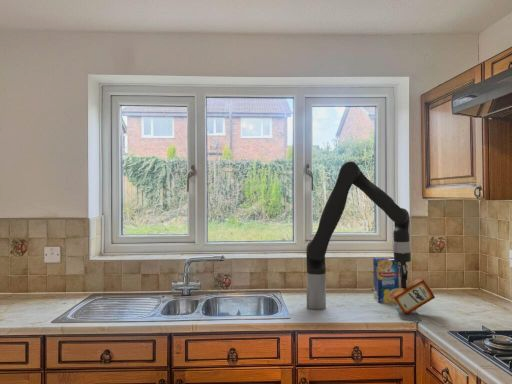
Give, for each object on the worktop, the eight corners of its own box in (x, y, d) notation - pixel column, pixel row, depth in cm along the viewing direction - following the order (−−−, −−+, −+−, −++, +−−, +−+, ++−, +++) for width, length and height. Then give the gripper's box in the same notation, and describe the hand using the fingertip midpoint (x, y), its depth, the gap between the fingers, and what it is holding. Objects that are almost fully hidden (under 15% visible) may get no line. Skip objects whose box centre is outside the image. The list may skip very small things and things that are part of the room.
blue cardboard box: (399, 302, 212) (398, 259, 212) (378, 303, 211) (378, 260, 211) (393, 298, 219) (393, 257, 219) (373, 299, 218) (373, 258, 218)
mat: (401, 320, 183) (401, 319, 183) (396, 308, 200) (396, 307, 200) (422, 321, 181) (422, 320, 181) (414, 309, 199) (414, 308, 199)
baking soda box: (393, 297, 189) (424, 279, 187) (390, 294, 195) (420, 276, 194) (405, 315, 188) (435, 297, 187) (402, 311, 195) (431, 293, 193)
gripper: (391, 249, 199) (393, 284, 199) (395, 253, 186) (397, 291, 186) (408, 248, 197) (409, 284, 197) (412, 253, 184) (414, 291, 184)
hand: (403, 287), depth 192 cm, fingers closed
